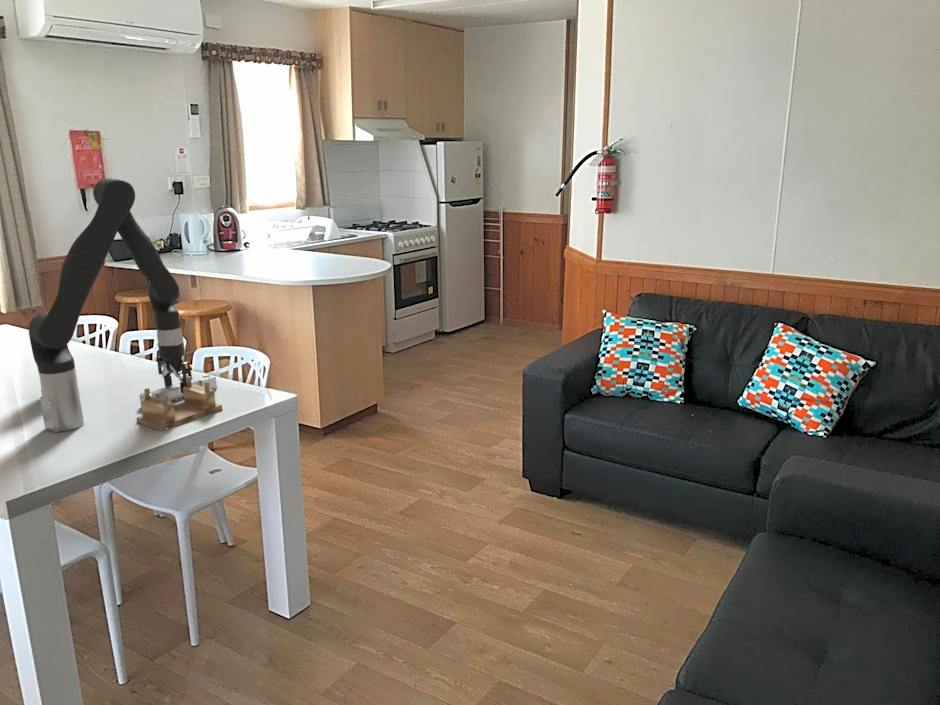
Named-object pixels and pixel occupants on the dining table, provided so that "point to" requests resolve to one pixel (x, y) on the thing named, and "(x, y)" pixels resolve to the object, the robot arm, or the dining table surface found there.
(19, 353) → the dining table surface
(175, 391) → the long white beam
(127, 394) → the dining table surface
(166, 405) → the tool rest
